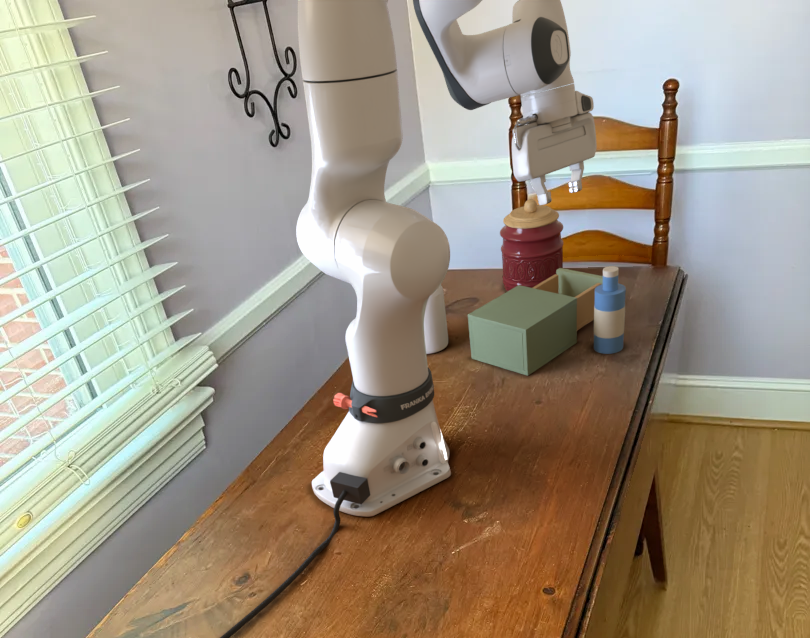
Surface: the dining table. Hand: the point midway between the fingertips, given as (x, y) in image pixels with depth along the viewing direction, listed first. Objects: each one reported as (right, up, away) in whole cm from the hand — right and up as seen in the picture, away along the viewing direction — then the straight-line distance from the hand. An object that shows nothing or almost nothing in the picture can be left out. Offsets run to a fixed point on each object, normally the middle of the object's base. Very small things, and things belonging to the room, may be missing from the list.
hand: (560, 197), depth 137 cm
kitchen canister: (0, -5, +32) cm, 32 cm away
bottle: (+10, -25, +5) cm, 27 cm away
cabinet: (-5, -25, +9) cm, 27 cm away
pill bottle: (-23, -22, +16) cm, 35 cm away
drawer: (+5, -16, +16) cm, 23 cm away
